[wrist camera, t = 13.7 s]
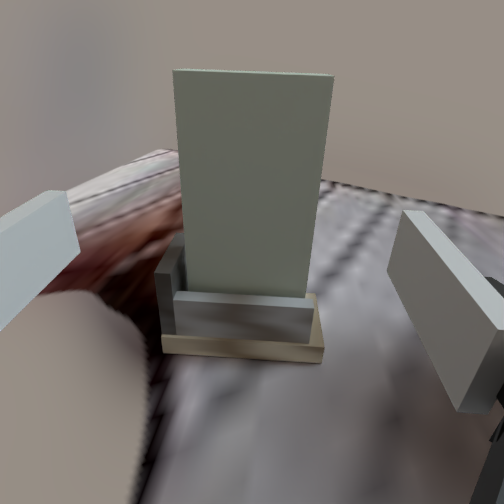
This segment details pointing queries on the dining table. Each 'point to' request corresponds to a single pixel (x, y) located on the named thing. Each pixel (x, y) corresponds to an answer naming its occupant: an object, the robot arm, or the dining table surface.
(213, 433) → the dining table surface
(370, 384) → the dining table surface
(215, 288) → the flat rectangular panel
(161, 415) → the dining table surface
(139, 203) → the dining table surface
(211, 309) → the cradle
